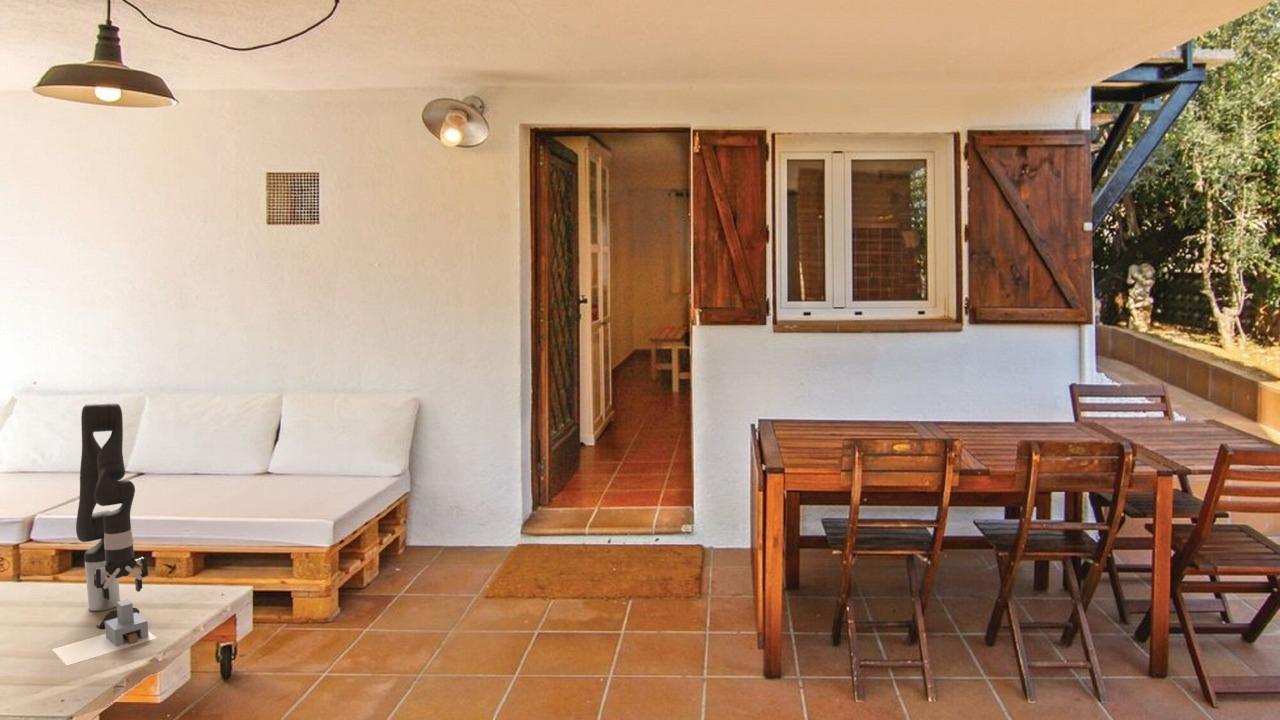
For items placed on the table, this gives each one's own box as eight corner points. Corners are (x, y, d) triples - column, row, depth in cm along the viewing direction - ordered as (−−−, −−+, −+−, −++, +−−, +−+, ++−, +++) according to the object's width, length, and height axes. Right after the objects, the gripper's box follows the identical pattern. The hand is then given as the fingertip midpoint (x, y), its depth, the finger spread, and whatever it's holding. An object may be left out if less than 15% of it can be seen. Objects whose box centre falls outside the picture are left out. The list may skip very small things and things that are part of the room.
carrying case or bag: (104, 618, 280) (93, 636, 267) (103, 610, 280) (92, 627, 266) (141, 613, 284) (131, 630, 271) (140, 605, 284) (131, 621, 270)
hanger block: (105, 637, 262) (102, 602, 261) (137, 627, 268) (135, 594, 267) (116, 646, 255) (113, 611, 254) (148, 636, 262) (145, 602, 260)
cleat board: (52, 654, 254) (51, 641, 254) (140, 628, 272) (139, 616, 271) (66, 670, 243) (65, 657, 243) (157, 642, 261) (156, 630, 260)
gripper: (140, 536, 266) (144, 585, 268) (88, 547, 255) (92, 598, 257) (148, 541, 261) (152, 591, 263) (95, 553, 250) (100, 605, 252)
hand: (122, 595), depth 260 cm, fingers open, 8 cm apart
